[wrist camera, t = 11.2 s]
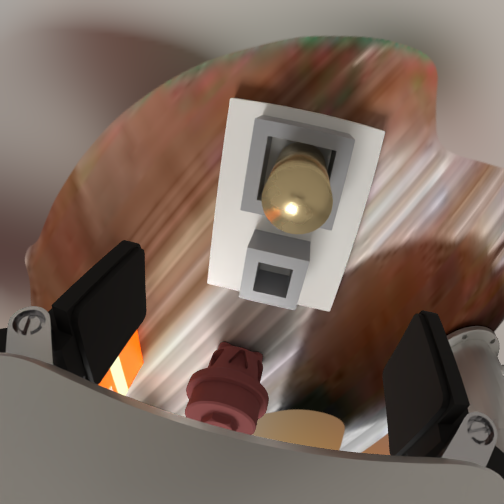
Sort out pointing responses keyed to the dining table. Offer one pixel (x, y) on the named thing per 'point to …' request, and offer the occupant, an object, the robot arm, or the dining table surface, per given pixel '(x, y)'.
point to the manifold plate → (262, 230)
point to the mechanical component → (229, 390)
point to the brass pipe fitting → (298, 190)
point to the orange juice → (124, 367)
